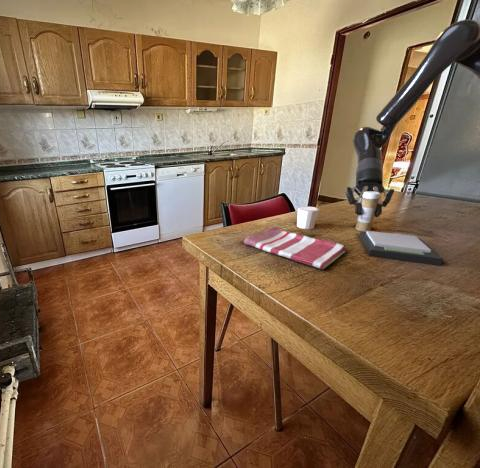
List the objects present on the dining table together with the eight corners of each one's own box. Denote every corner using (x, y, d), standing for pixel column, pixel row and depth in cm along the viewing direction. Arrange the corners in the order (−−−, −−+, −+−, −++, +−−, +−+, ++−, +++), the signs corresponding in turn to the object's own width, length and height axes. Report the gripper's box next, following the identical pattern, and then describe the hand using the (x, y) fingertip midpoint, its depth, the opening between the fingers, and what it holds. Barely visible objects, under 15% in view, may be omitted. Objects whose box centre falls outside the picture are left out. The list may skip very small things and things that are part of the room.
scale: (418, 244, 78) (421, 235, 77) (440, 265, 65) (444, 256, 64) (358, 237, 84) (360, 229, 83) (368, 256, 72) (371, 246, 71)
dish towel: (270, 232, 91) (271, 224, 90) (345, 252, 74) (348, 243, 73) (242, 245, 81) (243, 237, 80) (322, 272, 64) (324, 262, 63)
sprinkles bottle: (373, 230, 89) (384, 192, 84) (365, 233, 87) (375, 194, 83) (359, 227, 93) (369, 190, 88) (351, 229, 91) (360, 191, 86)
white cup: (320, 228, 93) (324, 209, 90) (304, 230, 91) (308, 211, 89) (305, 222, 99) (308, 205, 97) (291, 224, 97) (293, 207, 95)
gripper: (348, 166, 92) (345, 207, 86) (398, 167, 86) (400, 211, 80) (343, 179, 98) (340, 218, 92) (389, 180, 92) (390, 222, 87)
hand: (368, 215), depth 86 cm, fingers closed on sprinkles bottle, 4 cm apart
